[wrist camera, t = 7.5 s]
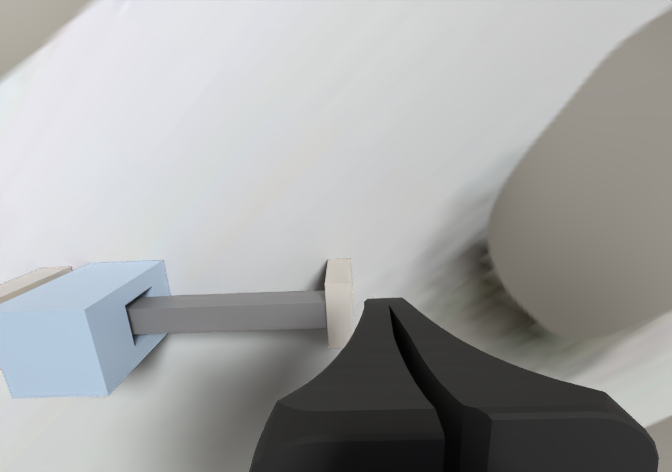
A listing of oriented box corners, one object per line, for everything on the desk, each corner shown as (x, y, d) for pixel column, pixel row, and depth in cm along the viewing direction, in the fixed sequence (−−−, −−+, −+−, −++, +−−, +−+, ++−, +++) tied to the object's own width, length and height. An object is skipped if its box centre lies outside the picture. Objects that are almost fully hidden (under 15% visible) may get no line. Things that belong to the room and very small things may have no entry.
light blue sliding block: (163, 260, 21) (84, 309, 15) (176, 324, 23) (108, 395, 16) (90, 262, 22) (-20, 313, 15) (107, 326, 23) (12, 398, 16)
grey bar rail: (350, 255, 21) (352, 286, 16) (352, 315, 22) (355, 360, 18) (40, 267, 22) (-44, 301, 17) (58, 325, 23) (-16, 371, 18)
